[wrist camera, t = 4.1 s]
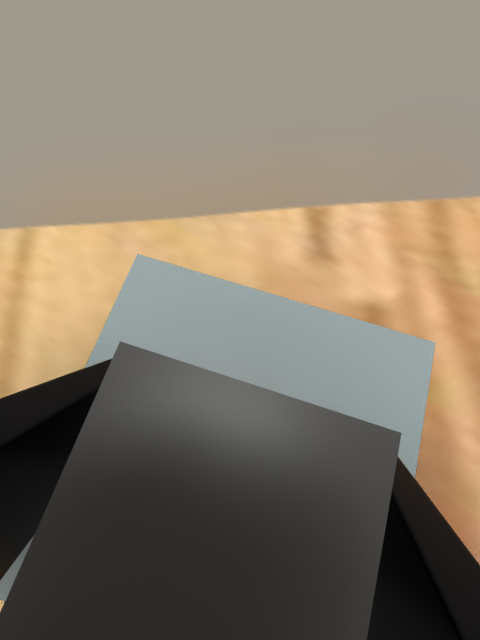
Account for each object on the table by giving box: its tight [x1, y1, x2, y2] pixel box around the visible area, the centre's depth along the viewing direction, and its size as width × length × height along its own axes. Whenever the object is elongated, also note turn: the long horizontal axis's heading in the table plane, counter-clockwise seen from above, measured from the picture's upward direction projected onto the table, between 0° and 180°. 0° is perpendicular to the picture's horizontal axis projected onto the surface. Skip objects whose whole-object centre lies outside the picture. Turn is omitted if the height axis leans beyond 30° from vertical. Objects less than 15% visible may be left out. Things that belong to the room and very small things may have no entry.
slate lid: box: [0, 254, 435, 640], centre depth 8 cm, size 12×12×11 cm
